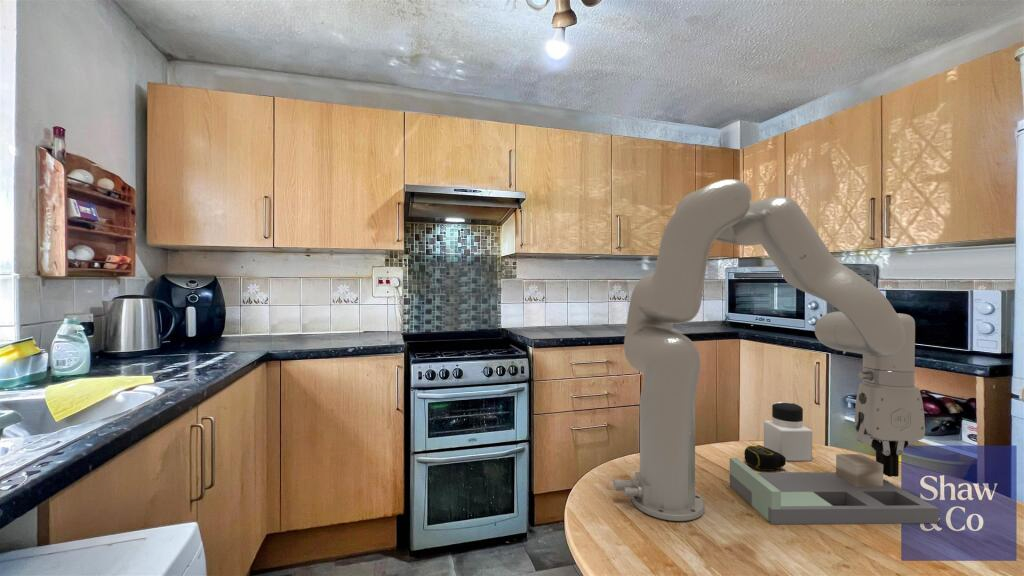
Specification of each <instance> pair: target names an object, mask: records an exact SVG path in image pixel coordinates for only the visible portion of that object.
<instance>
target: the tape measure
mask: <svg viewBox="0 0 1024 576" xmlns="http://www.w3.org/2000/svg"><path fill="white" fill-rule="evenodd" d="M743 453H744V460H745V463H747V465H750V466H751V467H753V468H757V469H759V470H765V471H775V470H777V469H779V468H780V469H781V468H783V467H785V465H786V463H787V461H786V459H785V457H784V456H783V455H781V454H780V453H777V452H775V451H773V450H771V449H768V448H765V447H764V445H763V446H762V445H759V444H758V445H749V446H747V447H746V448H745V449H744V451H743Z"/></svg>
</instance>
